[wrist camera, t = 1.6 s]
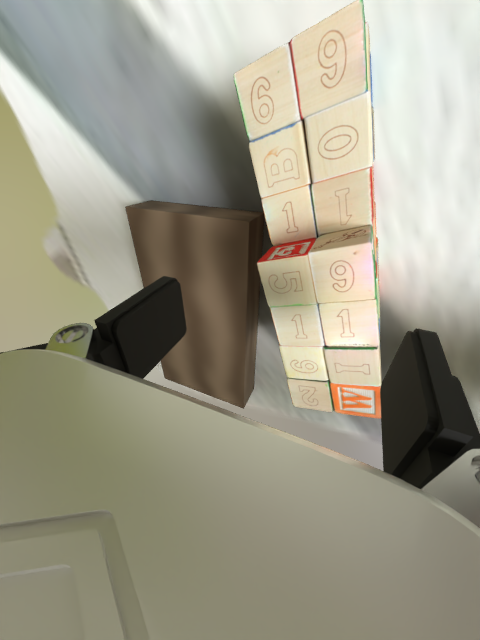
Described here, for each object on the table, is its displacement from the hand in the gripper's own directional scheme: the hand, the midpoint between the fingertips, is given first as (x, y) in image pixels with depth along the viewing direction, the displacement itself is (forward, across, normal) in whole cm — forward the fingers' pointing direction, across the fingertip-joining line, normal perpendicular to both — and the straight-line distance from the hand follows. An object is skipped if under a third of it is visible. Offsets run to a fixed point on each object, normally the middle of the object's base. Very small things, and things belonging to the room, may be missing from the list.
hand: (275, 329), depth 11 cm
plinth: (+17, +13, +12) cm, 25 cm away
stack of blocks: (+17, -1, 0) cm, 17 cm away
